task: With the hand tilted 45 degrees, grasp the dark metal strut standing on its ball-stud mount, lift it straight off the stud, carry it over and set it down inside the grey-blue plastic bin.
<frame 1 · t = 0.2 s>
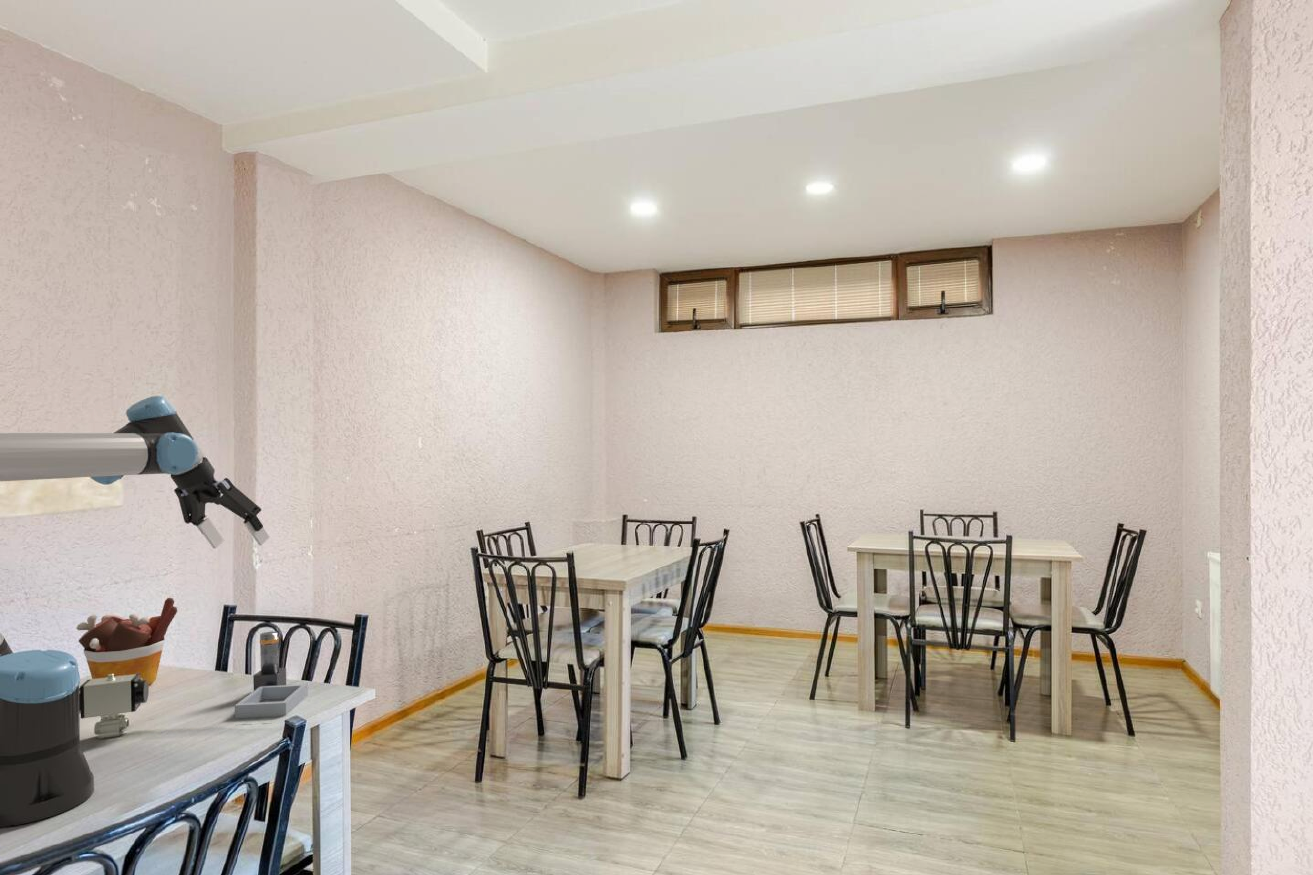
hand: (241, 543, 170), 35 cm above the table, tool tilted 35°, fingers open, 13 cm apart
bucket of meat: (129, 686, 181), on the table
bin: (272, 713, 161), on the table
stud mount: (270, 698, 170), on the table
pneumatic valve: (112, 735, 151), on the table
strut: (270, 691, 170), point 1 cm above the table, touching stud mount
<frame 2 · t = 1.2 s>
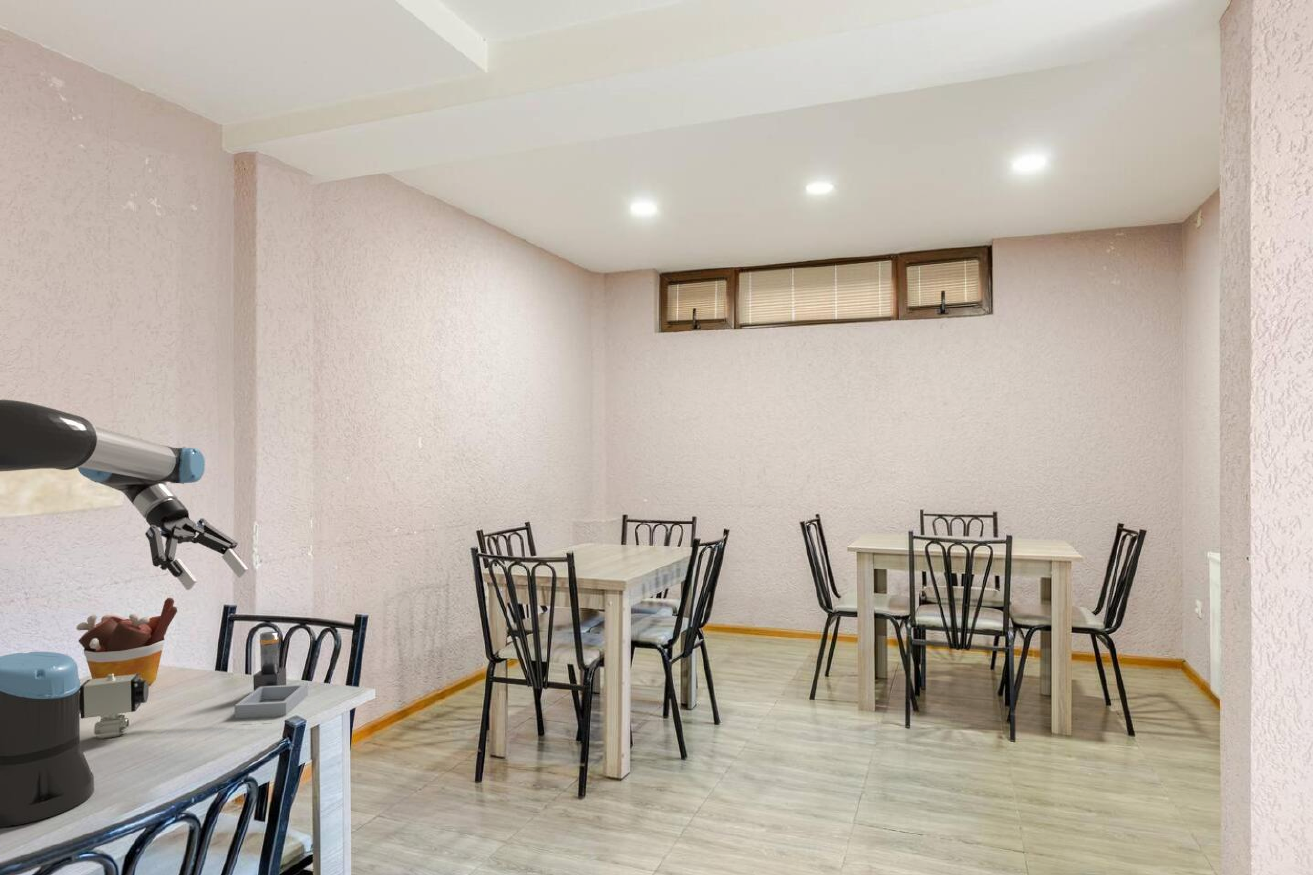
hand: (219, 579, 166), 28 cm above the table, tool tilted 45°, fingers open, 13 cm apart
nothing on the table moved.
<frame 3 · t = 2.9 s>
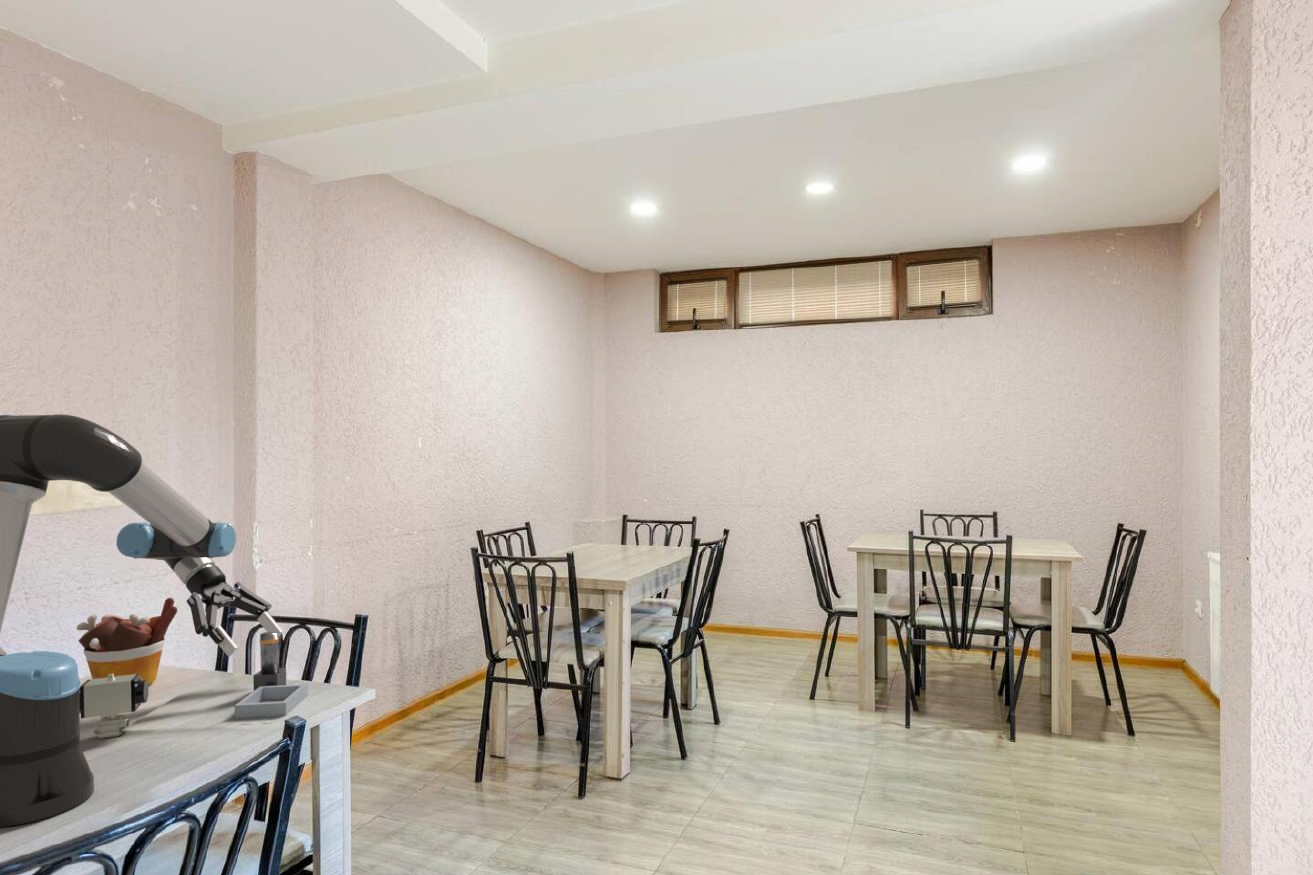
hand: (256, 643, 173), 12 cm above the table, tool tilted 45°, fingers open, 13 cm apart
nothing on the table moved.
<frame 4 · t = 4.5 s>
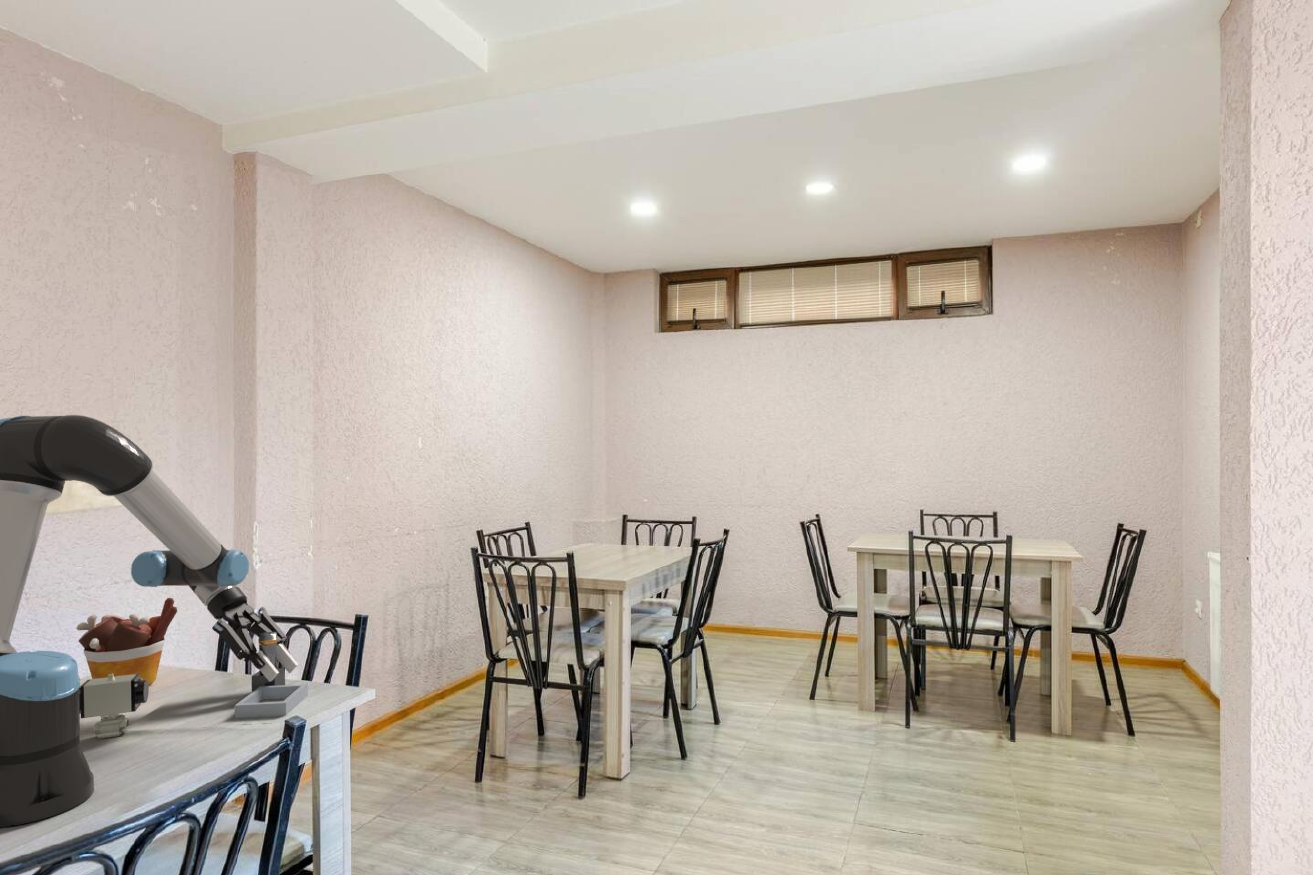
hand: (284, 672, 169), 6 cm above the table, tool tilted 45°, fingers closed on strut, 5 cm apart
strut: (268, 692, 170), point 2 cm above the table, touching gripper, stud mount
everything else where it was.
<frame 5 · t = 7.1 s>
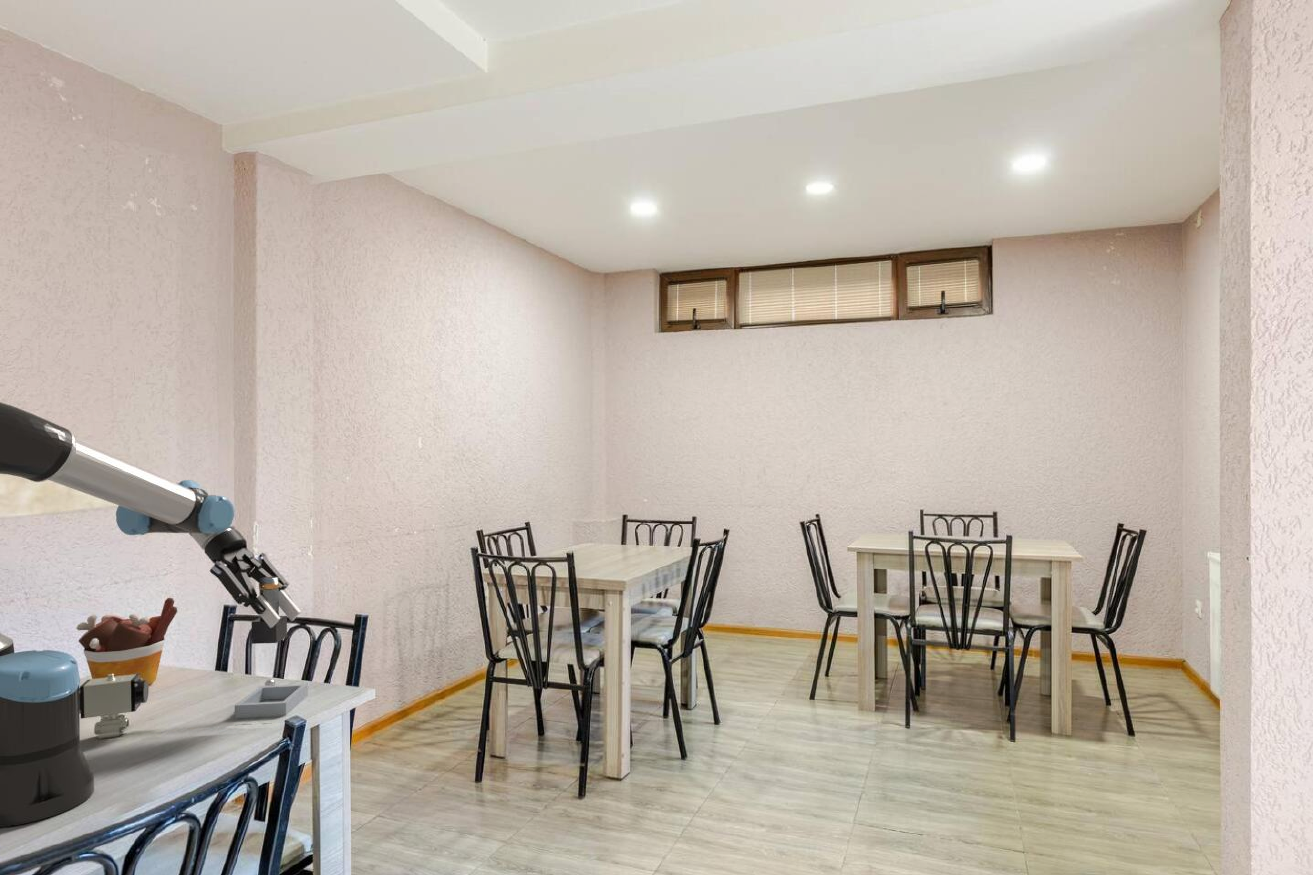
hand: (285, 619, 160), 20 cm above the table, tool tilted 45°, fingers closed on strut, 5 cm apart
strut: (269, 640, 160), point 16 cm above the table, touching gripper
everything else where it was.
when the fingers open (7 cm above the table, at t = 9.6 s): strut drops 2 cm, resting on bin.
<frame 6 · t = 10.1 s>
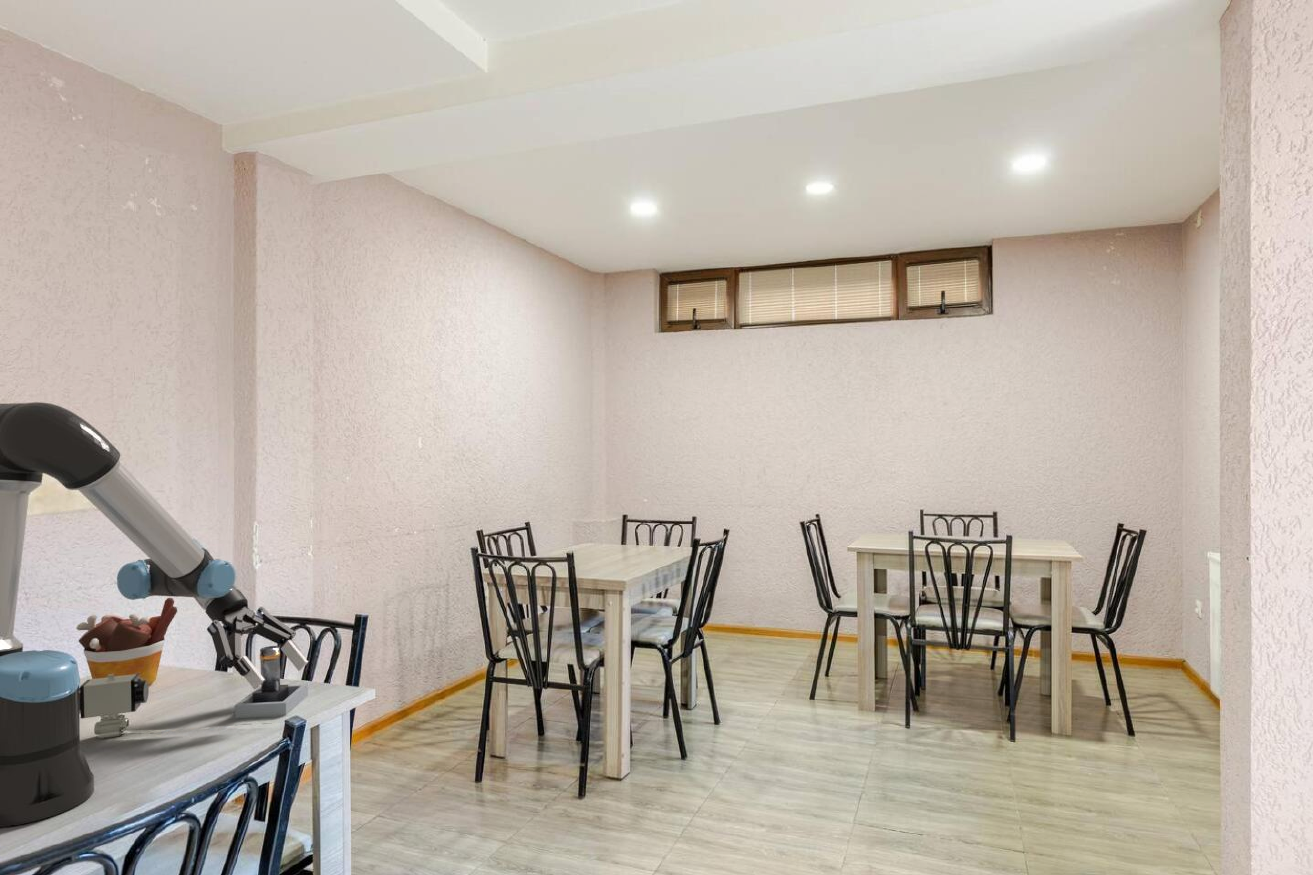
hand: (282, 675, 160), 8 cm above the table, tool tilted 45°, fingers open, 12 cm apart
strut: (271, 709, 160), point 1 cm above the table, touching bin
everything else where it was.
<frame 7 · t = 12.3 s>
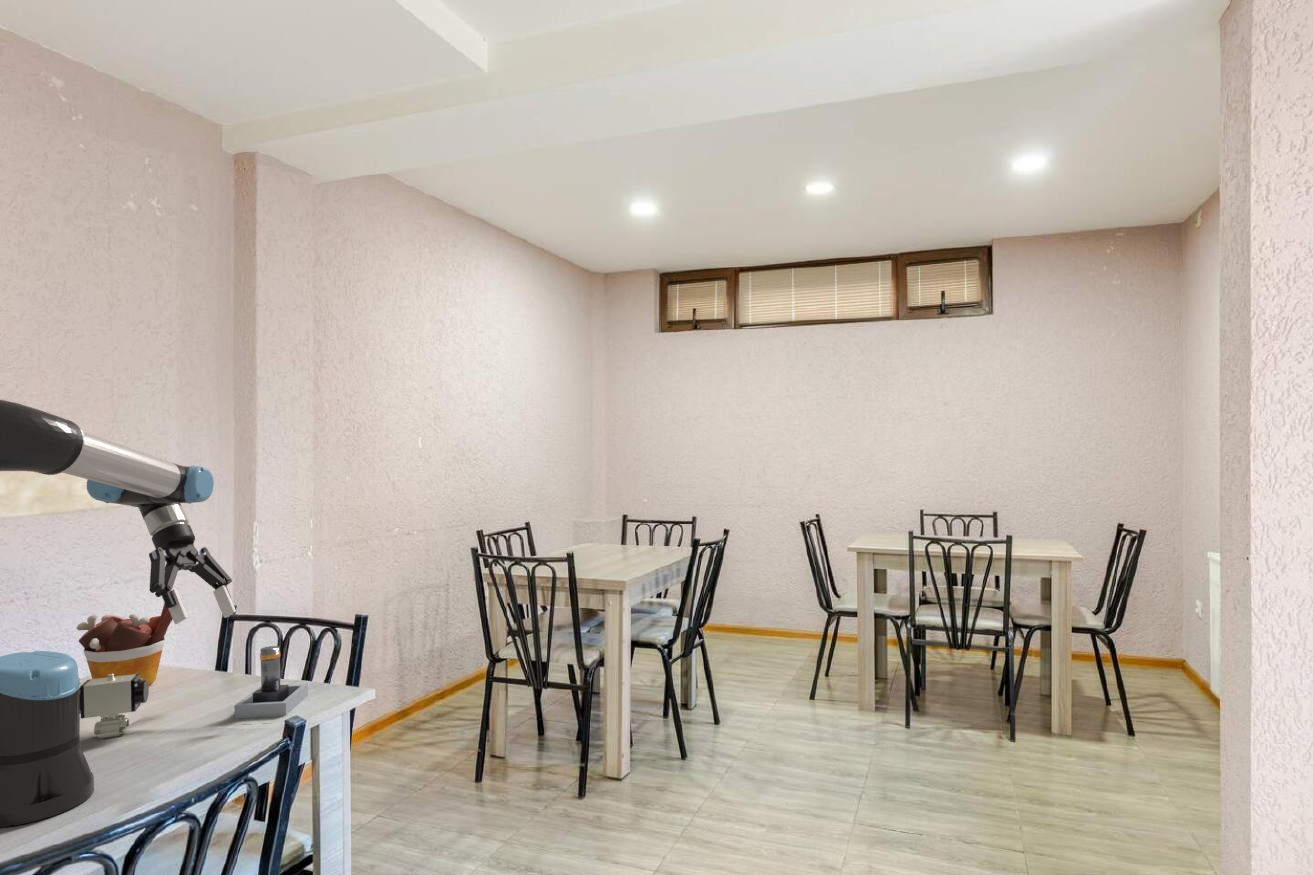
hand: (206, 617, 162), 20 cm above the table, tool tilted 30°, fingers open, 13 cm apart
nothing on the table moved.
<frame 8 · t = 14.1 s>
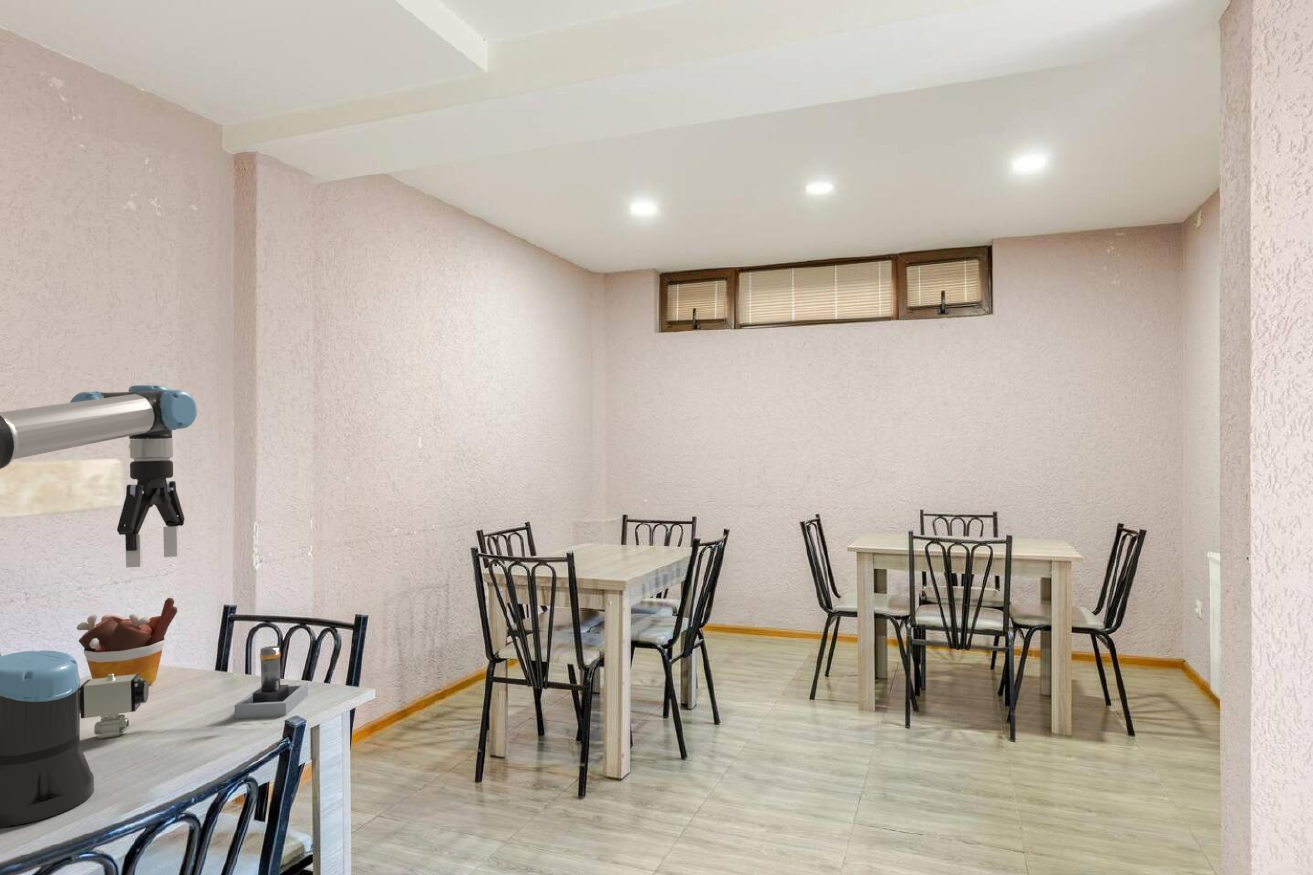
hand: (153, 561, 159), 33 cm above the table, tool pointing down, fingers open, 13 cm apart
nothing on the table moved.
at the end: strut inside the target area on the bin (0.4 cm from its centre), point 0.8 cm above the bin's base; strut moved 11.2 cm from its start; the gripper is holding nothing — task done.
